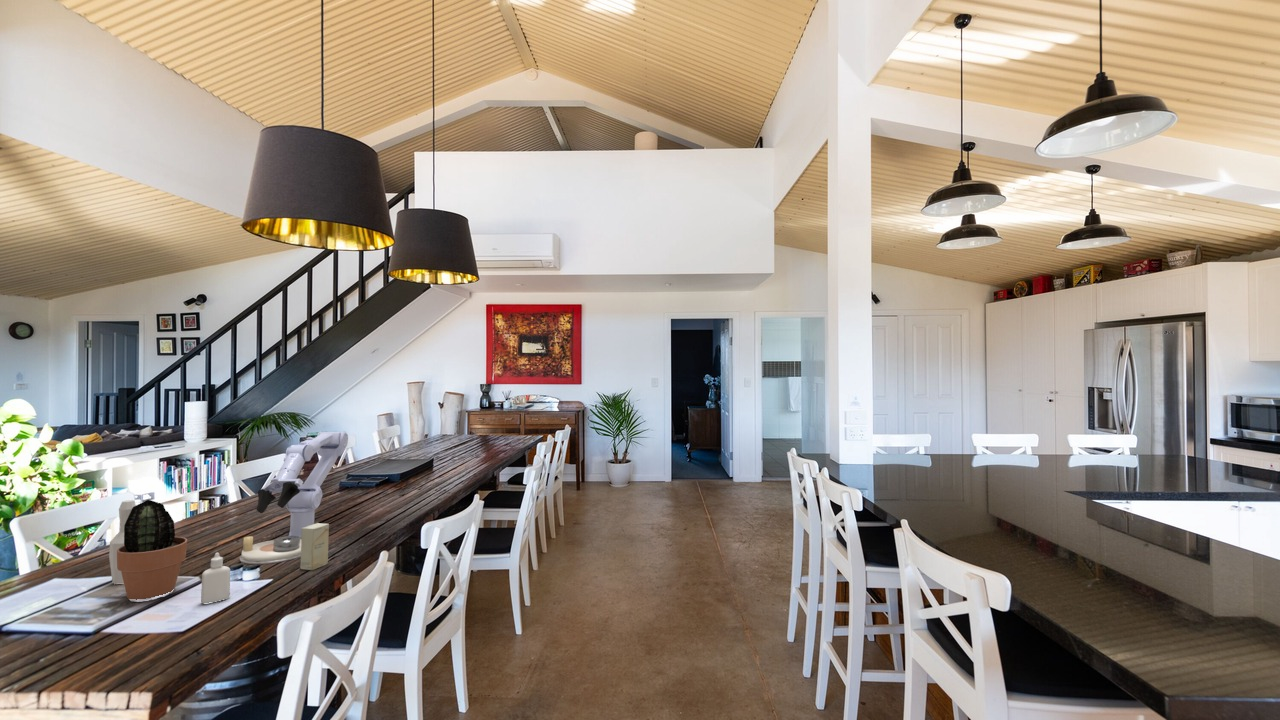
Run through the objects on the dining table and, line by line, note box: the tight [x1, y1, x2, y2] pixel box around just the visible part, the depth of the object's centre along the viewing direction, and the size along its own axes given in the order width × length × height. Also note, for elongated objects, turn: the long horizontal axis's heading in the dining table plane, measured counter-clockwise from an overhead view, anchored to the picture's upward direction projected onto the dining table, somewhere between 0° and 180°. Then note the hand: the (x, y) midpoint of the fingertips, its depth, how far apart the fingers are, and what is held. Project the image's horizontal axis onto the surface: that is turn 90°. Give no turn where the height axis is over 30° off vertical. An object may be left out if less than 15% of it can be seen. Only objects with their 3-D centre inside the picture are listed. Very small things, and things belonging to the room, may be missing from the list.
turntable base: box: [238, 554, 301, 565], centre depth 174 cm, size 19×19×1 cm
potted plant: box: [117, 499, 188, 600], centre depth 141 cm, size 14×14×25 cm
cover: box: [273, 535, 301, 552], centre depth 172 cm, size 7×7×3 cm
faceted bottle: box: [108, 499, 137, 585], centre depth 150 cm, size 6×6×22 cm
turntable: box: [241, 535, 301, 562], centre depth 174 cm, size 18×18×6 cm
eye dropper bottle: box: [200, 552, 231, 604], centre depth 138 cm, size 4×6×12 cm
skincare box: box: [299, 522, 330, 571], centre depth 163 cm, size 6×4×12 cm
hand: (269, 508), depth 173 cm, fingers open, 7 cm apart
